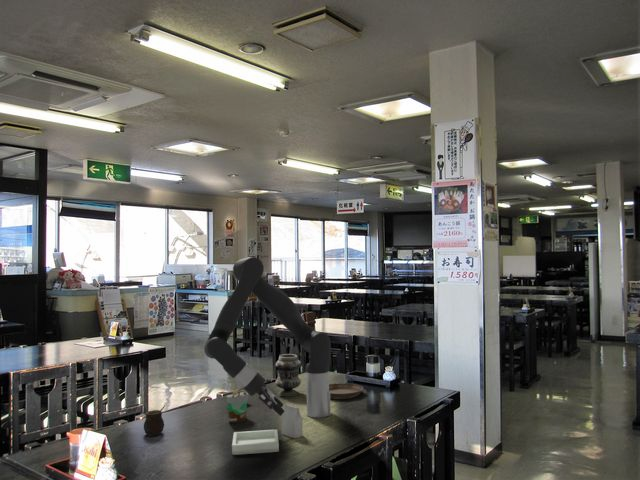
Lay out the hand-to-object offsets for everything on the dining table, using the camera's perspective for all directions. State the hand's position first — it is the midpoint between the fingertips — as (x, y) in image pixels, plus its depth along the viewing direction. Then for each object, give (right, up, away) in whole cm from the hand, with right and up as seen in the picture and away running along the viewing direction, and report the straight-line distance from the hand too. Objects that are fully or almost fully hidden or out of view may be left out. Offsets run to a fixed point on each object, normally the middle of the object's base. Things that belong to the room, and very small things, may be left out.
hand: (282, 409), depth 181 cm
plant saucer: (+23, -11, +54) cm, 60 cm away
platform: (-22, -12, +41) cm, 48 cm away
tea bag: (+4, -9, 0) cm, 10 cm away
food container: (-18, -10, +19) cm, 28 cm away
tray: (-8, -9, -11) cm, 16 cm away
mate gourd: (-47, -11, +5) cm, 49 cm away
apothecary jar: (-1, -12, +57) cm, 58 cm away
